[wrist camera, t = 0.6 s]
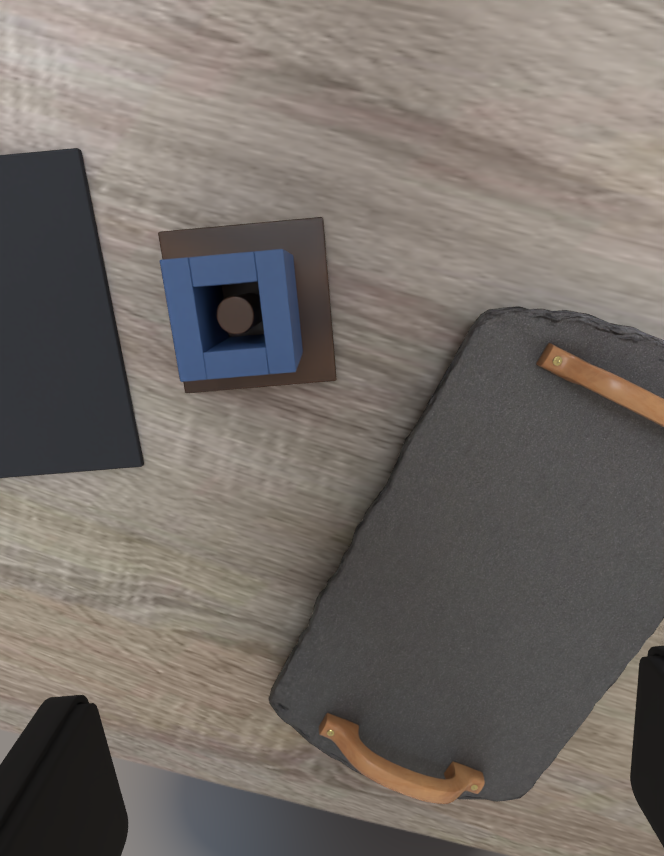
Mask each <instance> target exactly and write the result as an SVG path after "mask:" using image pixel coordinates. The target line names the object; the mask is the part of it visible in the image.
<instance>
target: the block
mask: <svg viewBox="0 0 664 856" xmlns="http://www.w3.org/2000/svg"><path fill="white" fill-rule="evenodd" d="M160 265H161V271H162V277H163V283H164V289H165V295H166V300H167V306H168V312H169V318H170V324H171V330H172V336H173V341H174V347H175V353H176V359H177V365H178V371H179V376H180V381H181V382H185V381H197V380H207V379H208V380H209V379H220V378H232V377H244V376H256V375H268V374H279V373H291V372H296V370H297V367H298V364H299V362H300V359H301V356H302V353H303V348H302V338H301V328H300V318H299V308H298V299H297V289H296V279H295V269H294V259H293V255H292V254H290V253H288V252H287V251H285V250H283V249H276V250H264V251H255V252H242V253H231V254H220V255H209V256H198V257H189V258H188V257H186V258H175V259H164V260H160ZM252 282H258V287H259V295H260V303H261V312H262V320H263V328H264V334H260V335H249V336H237V337H229V335H228V332H226V331H224V330H223V329H222V328H221V327H220V325H219V323H218V321H217V316H216V312H217V308H218V306H219V304H220V303H221V301H222V300H224V299H223V292H222V285H229V284H241V283H252Z"/></svg>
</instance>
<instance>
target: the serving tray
mask: <svg viewBox="0 0 664 856" xmlns="http://www.w3.org/2000/svg"><path fill="white" fill-rule="evenodd" d="M663 618H664V340H661V339H659V338H656V337H654V336H651V335H649V334H646V333H644V332H642V331H640V330H638V329H636V328H634V327H629V326H621V325H616V324H612V323H608V322H606V321H604V320H601V319H599V318H596V317H594V316H592V315H589V314H584V313H578V312H573V311H567V310H562V311H549V310H545V309H526V308H523V307H507V308H498V309H491V310H487V311H486V312H484V313H483V314H481V315H480V316H479V318H478V319H477V320H476V321H475V323H474V324H473V325H472V326H471V328H470V330H469V331H468V333H467V335H466V336H465V338H464V340H463V342H462V344H461V345H460V347H459V349H458V351H457V353H456V355H455V356H454V358H453V360H452V362H451V364H450V366H449V367H448V369H447V371H446V373H445V375H444V377H443V378H442V380H441V382H440V384H439V385H438V387H437V389H436V391H435V392H434V394H433V396H432V398H431V399H430V401H429V403H428V405H427V407H426V409H425V411H424V413H423V414H422V416H421V417H420V419H419V421H418V422H417V424H416V425H415V427H414V429H413V430H412V432H411V433H410V434H409V435H408V437H407V438H406V440H405V442H404V444H403V446H402V449H401V452H400V455H399V457H398V460H397V462H396V464H395V466H394V468H393V470H392V473H391V475H390V477H389V480H388V482H387V485H386V486H385V487H384V488H383V490H382V491H381V492H380V494H379V495H378V496H377V498H376V499H375V500H374V502H373V503H372V504H371V505H370V507H369V508H368V510H367V511H366V513H365V516H364V518H363V520H362V521H361V522H360V523H359V525H358V526H357V528H356V530H355V533H354V536H353V539H352V542H351V544H350V546H349V548H348V549H347V551H346V552H345V553H344V555H343V558H342V561H341V563H340V565H339V568H338V569H337V571H336V572H335V574H334V575H333V576H332V577H331V578H330V579H329V580H328V583H327V586H326V588H325V589H323V590H322V591H321V592H320V593H319V595H318V597H317V599H316V602H315V605H314V609H313V614H312V616H311V618H310V620H309V626H308V627H307V628H306V629H305V630H304V631H303V632H302V633H301V635H300V636H299V641H298V644H297V645H296V646H295V647H294V648H293V650H292V652H291V654H290V656H289V657H288V659H287V661H286V663H285V665H284V667H283V668H282V670H281V672H280V673H279V675H278V677H277V679H276V681H275V683H274V685H273V687H272V688H271V692H270V695H269V703H270V705H271V706H272V707H273V709H274V710H275V712H276V713H277V715H278V716H279V717H280V718H281V719H282V720H283V721H284V722H286V723H288V724H289V725H291V726H292V727H293V728H294V729H295V730H296V731H297V732H298V733H300V734H301V735H302V736H303V737H304V738H305V739H306V740H307V741H308V742H309V743H311V744H312V745H314V746H316V747H317V748H318V749H320V750H321V751H322V752H324V753H325V754H327V755H329V756H330V757H331V758H334V759H336V760H338V761H340V762H342V763H343V764H345V765H346V766H348V767H349V768H350V769H352V770H354V771H356V772H357V773H359V774H362V775H364V776H366V777H368V778H370V779H371V780H373V781H375V782H377V783H379V784H381V785H382V786H384V787H387V788H389V789H391V790H394V791H396V792H399V793H401V794H404V795H407V796H410V797H412V798H415V799H419V800H422V801H426V802H431V803H438V804H448V803H451V802H453V801H454V800H456V799H487V800H491V801H506V800H513V799H518V798H521V797H522V796H523V795H525V794H526V793H527V792H528V791H529V790H530V789H531V788H532V787H533V786H534V784H535V783H536V781H537V780H538V778H539V777H540V776H541V774H542V773H543V772H544V771H545V770H546V769H547V768H548V767H549V766H550V765H551V763H552V762H553V761H554V759H555V758H556V757H557V755H558V753H559V752H560V750H561V749H562V748H563V747H564V746H565V744H566V743H567V742H568V741H569V739H570V738H571V737H572V736H573V735H574V733H575V732H576V731H577V729H578V728H579V727H580V725H581V724H582V723H583V722H584V720H585V719H586V718H587V716H588V715H589V714H590V712H591V711H592V709H593V707H594V705H595V703H596V702H598V701H599V700H600V699H601V698H602V696H603V695H604V694H605V692H606V691H607V690H608V689H609V688H610V687H611V686H612V685H613V684H614V683H615V682H616V680H617V679H618V677H619V676H620V675H621V673H622V672H623V671H624V669H625V667H626V666H627V664H628V663H629V662H630V661H631V660H632V658H633V657H634V656H635V655H636V654H637V653H638V652H639V650H640V649H641V647H642V646H643V644H644V643H645V641H646V640H647V639H648V638H649V637H650V636H651V635H652V634H653V633H654V632H655V630H656V628H657V627H658V625H659V624H660V622H661V621H662V620H663Z"/></svg>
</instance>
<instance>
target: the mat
mask: <svg viewBox="0 0 664 856" xmlns="http://www.w3.org/2000/svg"><path fill="white" fill-rule="evenodd" d="M143 465H144V462H143V457H142V452H141V447H140V442H139V437H138V432H137V427H136V422H135V417H134V412H133V407H132V402H131V397H130V392H129V387H128V382H127V377H126V372H125V367H124V362H123V357H122V352H121V347H120V342H119V337H118V332H117V327H116V322H115V317H114V312H113V307H112V303H111V298H110V293H109V288H108V283H107V278H106V273H105V268H104V263H103V258H102V253H101V248H100V243H99V238H98V233H97V228H96V223H95V218H94V213H93V208H92V203H91V198H90V193H89V188H88V183H87V178H86V173H85V168H84V163H83V158H82V153H81V150H80V149H78V148H74V149H63V150H52V151H42V152H31V153H21V154H10V155H0V478H7V477H19V476H32V475H44V474H56V473H69V472H81V471H93V470H105V469H118V468H130V467H141V466H143Z"/></svg>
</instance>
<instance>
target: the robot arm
mask: <svg viewBox="0 0 664 856" xmlns="http://www.w3.org/2000/svg"><path fill="white" fill-rule="evenodd" d="M630 781H631V786H632V790H633V793H634V796H635V798H636V800H637V802H638V804H639V806H640V808H641V810H642V811H643V813H644V815H645V816H646V818H647V820H648V822H649V823H650V825H651V827H652V828H653V830H654V832H655V833H656V835H657V837H658V838H659V840H660V842H661V844H662V845H663V847H664V646H655V647H651V648H650V650H649V651H648V656H647V657H642V658H641V660H640V663H639V675H638V687H637V700H636V712H635V724H634V737H633V749H632V762H631V774H630ZM127 833H128V816H127V812H126V809H125V805H124V801H123V798H122V794H121V791H120V787H119V783H118V780H117V777H116V773H115V769H114V765H113V762H112V758H111V755H110V751H109V747H108V744H107V740H106V737H105V733H104V729H103V726H102V722H101V719H100V715H99V711H98V708H97V706H96V705H95V704H94V703H89V702H88V699H87V698H86V697H85V696H84V695H74V696H62V697H51V698H48V699H46V700H45V701H44V702H43V703H42V705H41V706H40V707H39V709H38V710H37V712H36V713H35V715H34V716H33V718H32V719H31V721H30V722H29V723H28V725H27V726H26V728H25V729H24V731H23V732H22V734H21V735H20V737H19V738H18V740H17V741H16V743H15V744H14V745H13V747H12V749H11V750H10V751H9V753H8V754H7V756H6V757H5V759H4V760H3V762H2V763H1V765H0V856H121V854H122V851H123V848H124V845H125V842H126V838H127Z"/></svg>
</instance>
